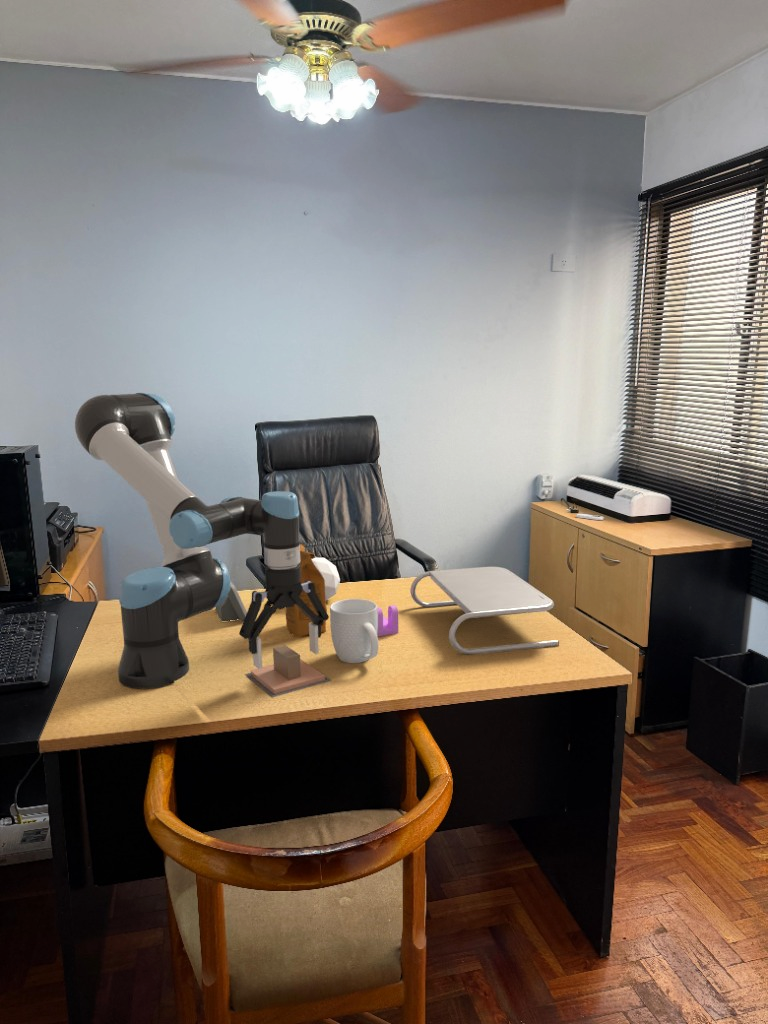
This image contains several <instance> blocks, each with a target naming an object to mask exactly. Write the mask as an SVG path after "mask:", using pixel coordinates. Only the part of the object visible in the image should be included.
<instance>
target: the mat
mask: <svg viewBox="0 0 768 1024" xmlns="http://www.w3.org/2000/svg"><path fill="white" fill-rule="evenodd" d="M244 675H245V676H246V678H248V679H249V680H251V681H252V682H253V683H254V684H255V685H257V686H258V687H259V688H260V689H262V691H264V692H265V693H266V694H267V695H269V696H270V697H271V698H276V697H279V696H282V695H287V694H289V693H292V692H296V691H300V690H303V689H307V688H310V687H314V686H317V685H321V684H325V683H328V682H331V681H332V680H331V679H330V678H328V677H327V676H326V675H325V680H323V681H319V682H316V683H312V684H309V685H305V686H302V687H298V688H295V689H291V690H288V691H284V692H281V693H277V694H274V693H272V692H271V691H270V690H269V689H267V688H266V687H265V686H264V685H263V684H261V683H260V682H259V681H258V680H257V679H255V678H254V677H253V676H252V675H251V672H248V673H244Z"/></svg>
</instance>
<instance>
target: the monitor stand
mask: <svg viewBox="0 0 768 1024" xmlns="http://www.w3.org/2000/svg"><path fill="white" fill-rule="evenodd" d="M427 577H429V578H430V579H431V580H432V581H433V582H434V583H435V585H436V586H438V587H439V588H440V589H441V590H442V591H443V592H444V593H445V594H446V595H447V596H448V597H449V598H450V599H451V600H444V601H442V600H441V601H429V602H424V601H422V600H421V599H420V598H419V597H418V595H417V594H416V593H417V592H416V588H417V586H418V583H419V582H421V581H422V580H423V579H425V578H427ZM410 596H411V598H412V600H413V601H414V602H415V603H416V604H418V605H419V606H421V607H424V608H436V607H440V608H441V607H446V606H458V607H459V608H460V609H461V610H462V611H463V612H464V614H462V615H460V616H459V617H458V618H456V619H455V621H453V623H452V624H451V626H450V628H449V631H448V632H449V634H448V638H449V639H448V640H449V642H450V644H451V646H452V648H453V649H455V650H456V651H458V652H459V653H461V654H464V655H487V654H491V653H499V652H500V653H501V652H511V651H518V650H519V651H520V650H528V649H543V648H549V647H558V646H560V641H559V640H558V639H556V640H555V639H554V640H546V641H545V640H543V641H535V642H526V643H525V642H524V643H516V644H515V643H514V644H504V645H494V646H485V647H475V648H466V647H463V646H461V645H460V644H459V642H458V641H457V639H456V631H457V629H458V627H459V626H460V625H461V624H462V623H463V622H464V621H466V620H468V619H472V618H473V619H477V618H478V619H479V618H485V617H486V618H488V617H497V616H509V615H519V614H531V613H542V612H543V613H544V612H547V611H550V610H551V609H553V607H554V606H555V603H554V601H553V599H551V598H550V597H548V596H547V595H545V594H544V593H543V592H541V591H540V590H538V589H537V588H535V587H534V586H533V585H531V584H530V583H528V582H527V581H525V580H523V579H522V578H521V577H519V576H518V575H517V574H516V573H513V572H512V571H511V570H510V569H507V568H504V567H502V566H501V567H500V566H480V567H467V568H454V569H440V570H429V571H425V572H422V573H421V574H419V575H417V576H416V577H415V578H414V580H413V581H412V583H411V586H410Z"/></svg>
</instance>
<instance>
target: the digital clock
mask: <svg viewBox="0 0 768 1024" xmlns="http://www.w3.org/2000/svg"><path fill="white" fill-rule="evenodd" d="M247 612H248V610H247V609H246V607H245V605H244V603H243V601H242V598H241V596H240V595H239V592H238V590H237V588H236V586H235V585H234V583H233V582H232V581H231V580H230V591H229V593H228V596H227V598H226V600H225V601H224V602H223V603H222V604H220V605H219V606H217V607H215V613H216V615H217V614H218V615H217V616H218V618H219V619H221V620H220V621H221V622H222V621H228V622H231V621H230V620H235V621H240V622H241V623H243V622H244V619H245V617H246V614H247ZM237 619H239V620H237Z"/></svg>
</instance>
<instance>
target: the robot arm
mask: <svg viewBox="0 0 768 1024" xmlns="http://www.w3.org/2000/svg"><path fill="white" fill-rule="evenodd" d="M174 425H175V426H176V418H175V413H174V411H173V408H171V406H170V404H169V403H168V402H167V401H166V400H165V399H164V398H163V397H161V396H159V395H157V394H155V393H145V392H136V393H127V394H126V393H124V394H101V395H96V396H93V397H91V398H89V399H87V400H85V402H84V403H83V404H82V405H81V406H80V408H79V409H78V410H77V413H76V416H75V421H74V430H75V434H76V437H77V439H78V441H79V443H80V445H81V446H82V448H83V449H85V451H86V452H87V453H88V454H89V455H90V456H91V457H92V458H93V459H95V460H98V461H104V462H105V463H106V464H107V465H108V466H109V467H111V469H112V470H114V472H116V473H117V474H118V476H120V477H121V479H123V480H124V481H125V482H126V483H127V484H128V485H130V487H131V488H133V490H134V491H136V492H137V493H138V494H139V495H140V496H141V497H143V498H144V499H145V502H146V505H147V507H148V512H149V514H150V517H151V520H152V522H153V525H154V528H155V529H154V530H155V531H156V533H157V538H158V540H159V543H160V546H161V548H162V551H163V553H164V559H163V562H162V563H161V566H152V567H150V568H143V569H139V570H136V571H134V572H132V573H130V574H127V576H125V577H124V578H123V579H122V581H121V582H120V585H119V599H118V601H119V605H120V610H121V612H120V613H121V623H122V637H123V649H122V653H121V655H120V656H121V657H120V661H119V665H118V668H117V677H118V682H119V683H120V685H123V686H125V687H128V688H131V689H132V688H133V689H154V688H161V687H164V686H168V685H171V684H174V683H175V681H178V680H180V679H181V678H183V677H185V676H186V675H187V674H188V672H189V671H190V661H189V659H188V656H187V654H186V651H185V649H184V646H183V644H182V642H181V640H180V635H179V622H181V621H183V620H186V619H188V618H189V619H190V618H192V617H194V616H197V615H200V614H203V613H205V612H209V611H212V610H213V609H214V608H215V609H216V607H217V606H219V605H220V604H222V603H223V602H224V601H225V600H226V598H227V596H228V593H229V591H230V581H231V576H230V572H229V570H228V567H227V566H226V564H225V563H224V562H222V560H220V559H219V558H216V557H213V556H212V552H211V550H210V548H207V547H205V546H207V545H210V544H212V543H217V542H220V541H223V540H228V539H231V538H232V539H233V538H236V537H238V536H242V535H255V536H263V537H262V538H263V551H264V552H263V553H264V555H263V556H264V565H265V568H264V575H265V578H264V579H265V586H266V587H265V591H256V590H253V591H251V601H250V604H249V607H248V609H247V614H246V617H245V619H244V622H242V624H241V627H240V629H239V632H238V634H239V636H240V637H242V638H243V639H244V640H248V651H249V653H250V654H252V657H253V666H254V667H256V669H262V667H263V660H262V659H263V657H262V655H263V654H262V653H263V652H262V639H261V638H260V637H259V636H260V635H261V633H262V631H263V630H264V628H265V627H266V625H267V624H268V622H269V621H270V619H271V617H272V616H273V614H275V613H276V612H277V611H278V609H279V610H283V609H286V607H293V605H295V604H296V605H297V606H298V607H299V608H300V609H301V610H302V611H303V612H304V613H305V614H306V615H307V616H308V617H309V618H310V619H311V620H312V621H313V623H312V622H311V623H309V635H308V636H309V651H310V652H312V653H313V654H315V655H318V654H320V651H319V650H320V649H319V638H321V637H322V632H321V626H322V625H323V623H324V622H323V621H324V620H326V621H327V620H329V619H330V618H329V617H330V615H329V614H328V611H327V612H326V610H325V608H324V607H323V605H322V603H321V601H320V599H319V597H318V596H317V594H316V591H315V585H314V583H312V582H310V581H308V580H306V581H305V583H303V584H301V566H300V565H299V563H300V544H301V543H300V542H301V541H300V510H299V501H298V496H297V495H296V493H294V492H292V491H280V490H279V491H269V492H265V493H264V494H263V495H262V496H261V499H254V498H246V497H243V496H237V497H234V496H233V497H232V496H228V497H225V498H224V499H222V500H221V501H220V502H219V503H215V504H212V505H206V503H204V502H203V501H202V500H201V499H200V498H198V497H197V495H196V494H194V493H193V492H192V491H191V490H190V489H189V488H187V486H185V485H184V484H183V483H182V482H181V481H180V480H179V478H178V475H177V472H176V469H175V466H174V463H173V460H172V458H171V455H170V452H169V450H170V447H171V445H172V444H173V441H172V438H171V437H172V436H173V434H174V432H175V429H176V428H175V426H174ZM303 590H304V591H305V592H306V593H307V595H308V597H309V599H310V601H311V602H312V604H313V606H314V608H315V610H316V612H317V613H318V616H317V615H316V614H315V613H314V612H313V611H312V610H311V609H310V608H309V607H308V606H307V605H306V604H305V603H304V601H303V600H302V599H301V598H300V597H299V596H300V595H301V593H302V591H303ZM265 598H266V599H267V601H266V602H265V603H264V605H263V609H262V610H261V611H260V609H261V607H262V603H263V602H264V601H265ZM259 612H260V613H259Z"/></svg>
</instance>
